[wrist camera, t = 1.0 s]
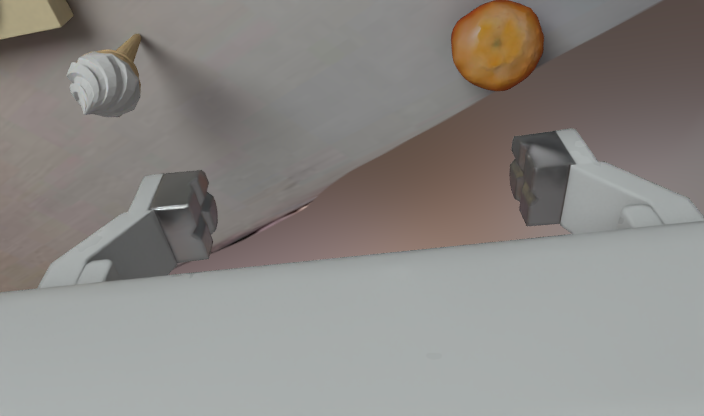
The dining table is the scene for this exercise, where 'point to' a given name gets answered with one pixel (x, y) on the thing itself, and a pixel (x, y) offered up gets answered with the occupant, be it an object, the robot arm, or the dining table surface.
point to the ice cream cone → (107, 80)
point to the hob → (32, 16)
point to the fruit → (497, 44)
